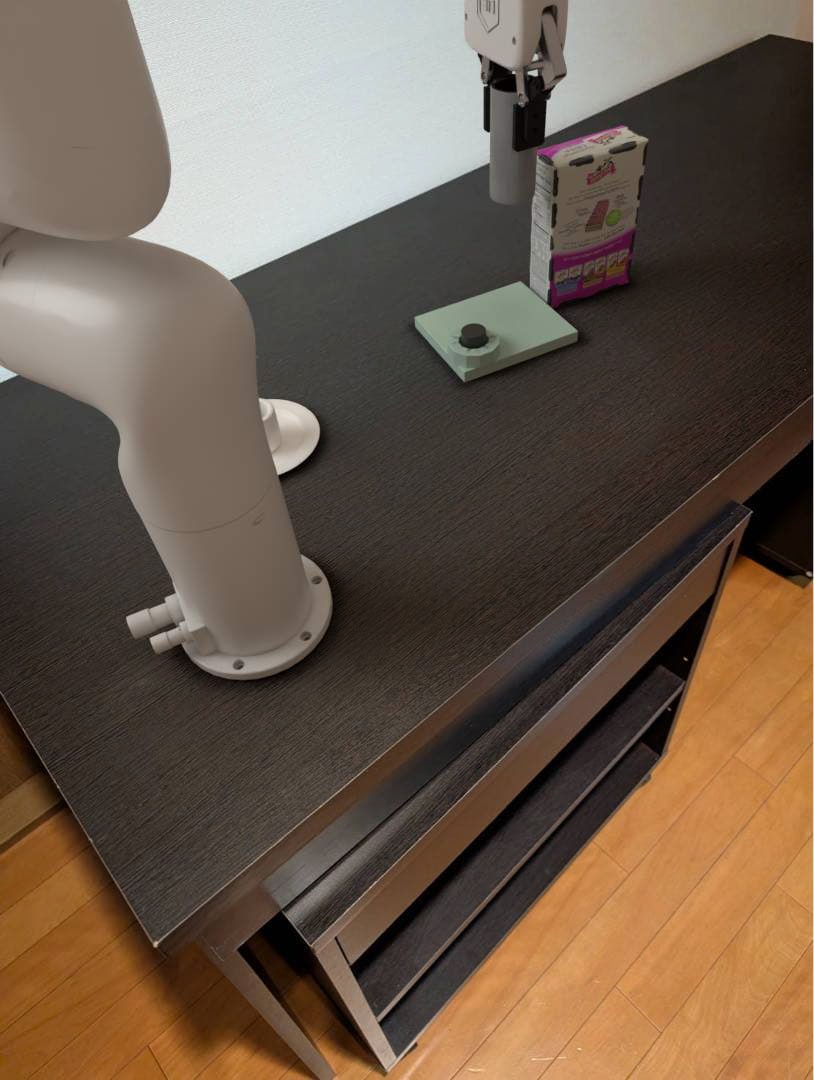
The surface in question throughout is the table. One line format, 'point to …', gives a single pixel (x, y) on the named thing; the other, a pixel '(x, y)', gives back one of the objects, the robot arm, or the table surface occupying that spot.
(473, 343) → the button
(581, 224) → the candy bar box
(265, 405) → the candle holder
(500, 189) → the planter
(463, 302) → the pale green base plate
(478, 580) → the table surface
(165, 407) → the robot arm
